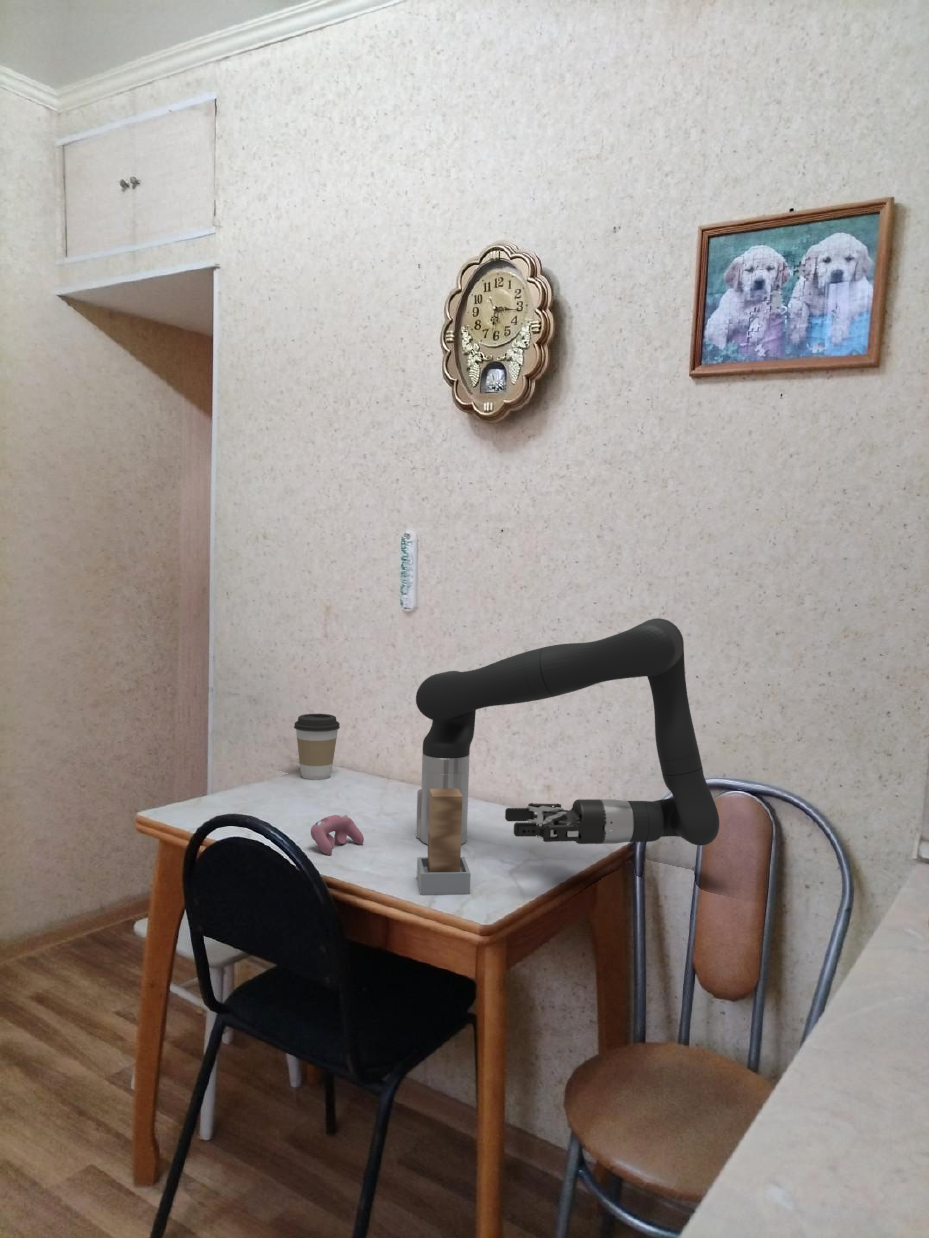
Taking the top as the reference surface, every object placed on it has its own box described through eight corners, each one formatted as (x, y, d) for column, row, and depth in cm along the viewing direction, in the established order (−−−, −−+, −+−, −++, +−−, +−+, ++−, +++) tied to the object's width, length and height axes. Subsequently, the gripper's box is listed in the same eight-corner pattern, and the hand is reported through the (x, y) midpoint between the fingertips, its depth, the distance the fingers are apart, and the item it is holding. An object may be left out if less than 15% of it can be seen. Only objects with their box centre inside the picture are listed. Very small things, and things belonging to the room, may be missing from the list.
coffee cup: (345, 772, 229) (346, 714, 228) (330, 783, 218) (331, 722, 217) (302, 769, 231) (303, 711, 230) (285, 779, 220) (286, 719, 219)
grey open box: (420, 894, 149) (421, 873, 148) (416, 876, 157) (417, 857, 157) (469, 893, 150) (470, 873, 150) (463, 876, 158) (464, 856, 158)
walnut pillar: (430, 879, 150) (432, 796, 149) (427, 868, 155) (429, 788, 154) (459, 878, 151) (462, 796, 150) (455, 868, 156) (458, 788, 155)
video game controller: (352, 848, 176) (341, 813, 177) (367, 842, 173) (356, 807, 175) (314, 860, 168) (303, 824, 170) (329, 854, 166) (318, 817, 167)
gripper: (592, 789, 163) (503, 789, 161) (614, 811, 149) (518, 812, 147) (590, 830, 163) (501, 830, 161) (612, 856, 149) (516, 857, 147)
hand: (509, 821), depth 154 cm, fingers open, 8 cm apart
